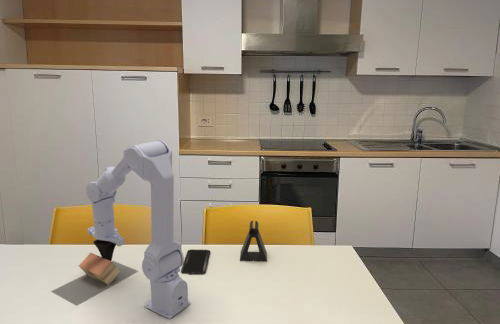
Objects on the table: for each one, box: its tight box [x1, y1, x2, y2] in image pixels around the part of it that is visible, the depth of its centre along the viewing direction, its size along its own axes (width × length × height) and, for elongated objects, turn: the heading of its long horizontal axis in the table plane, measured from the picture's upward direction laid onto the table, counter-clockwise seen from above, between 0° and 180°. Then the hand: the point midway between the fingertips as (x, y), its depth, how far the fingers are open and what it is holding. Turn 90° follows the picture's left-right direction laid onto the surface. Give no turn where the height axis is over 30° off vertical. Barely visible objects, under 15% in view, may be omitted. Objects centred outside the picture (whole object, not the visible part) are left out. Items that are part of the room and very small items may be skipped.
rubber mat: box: [51, 260, 139, 307], centre depth 112 cm, size 12×21×1 cm, turn 148°
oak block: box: [78, 252, 120, 285], centre depth 112 cm, size 10×5×5 cm
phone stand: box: [239, 220, 268, 263], centre depth 126 cm, size 9×6×12 cm, turn 88°
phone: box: [180, 249, 211, 276], centre depth 123 cm, size 8×1×15 cm
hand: (107, 261), depth 114 cm, fingers closed, pressing on oak block
